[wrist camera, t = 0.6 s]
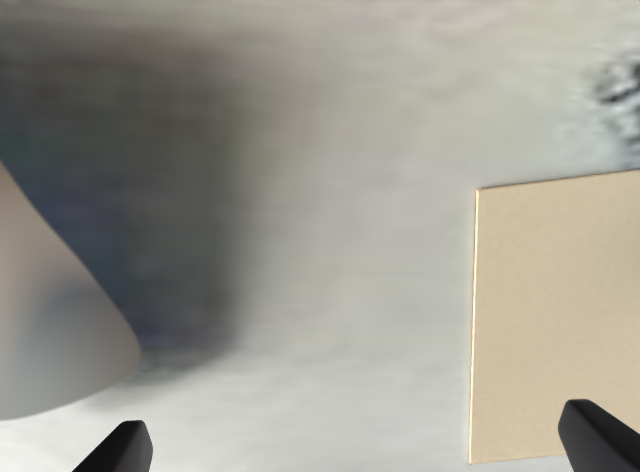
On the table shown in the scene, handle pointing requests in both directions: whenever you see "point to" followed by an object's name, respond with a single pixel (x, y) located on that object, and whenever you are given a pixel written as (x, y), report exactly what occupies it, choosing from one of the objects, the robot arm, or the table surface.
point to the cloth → (553, 310)
